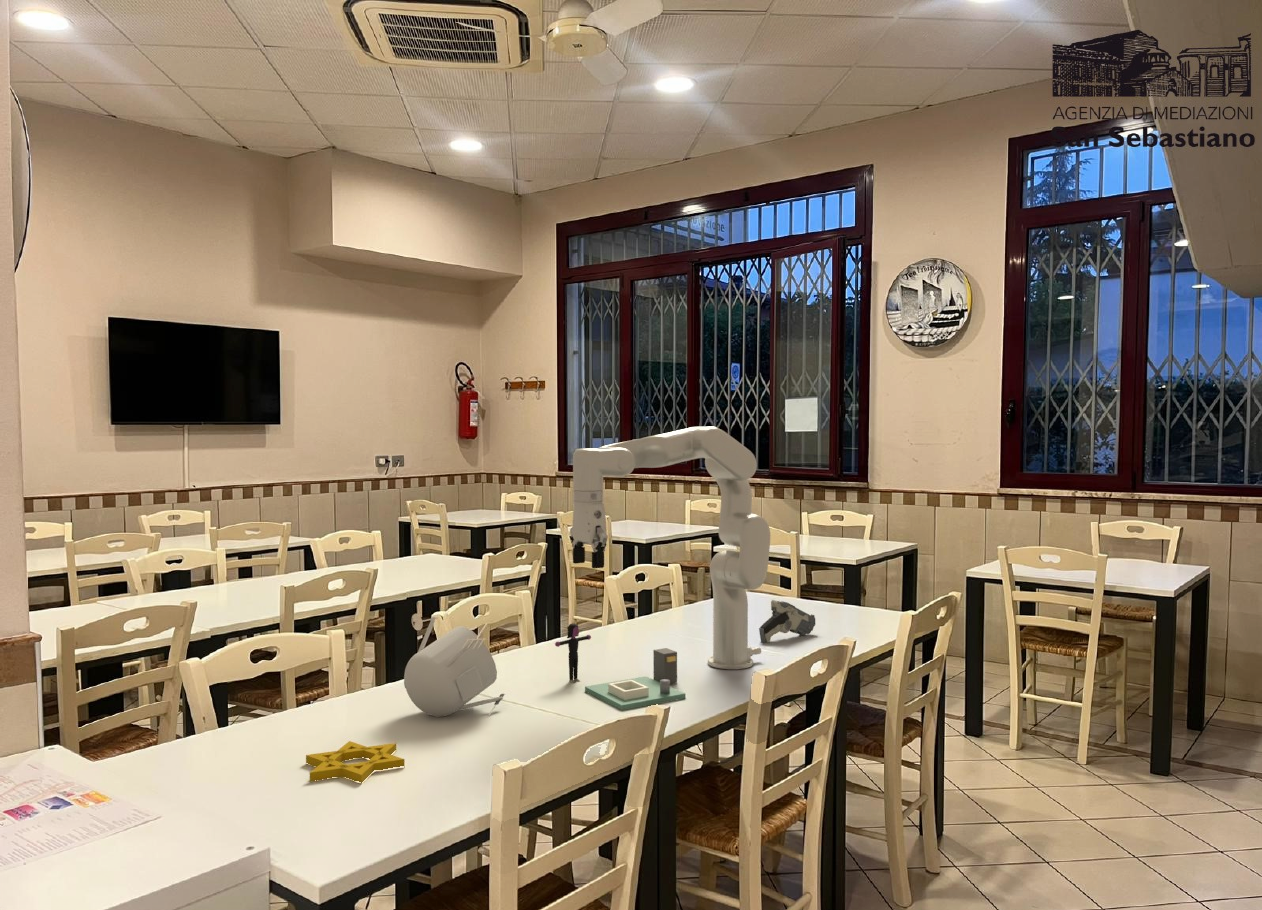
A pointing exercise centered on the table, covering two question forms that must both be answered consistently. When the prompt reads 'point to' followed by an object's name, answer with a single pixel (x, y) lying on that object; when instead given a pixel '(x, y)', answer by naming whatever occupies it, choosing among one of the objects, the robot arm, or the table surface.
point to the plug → (665, 665)
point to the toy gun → (786, 621)
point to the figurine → (573, 649)
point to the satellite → (449, 671)
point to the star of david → (332, 765)
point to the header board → (635, 692)
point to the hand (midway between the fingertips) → (588, 565)
